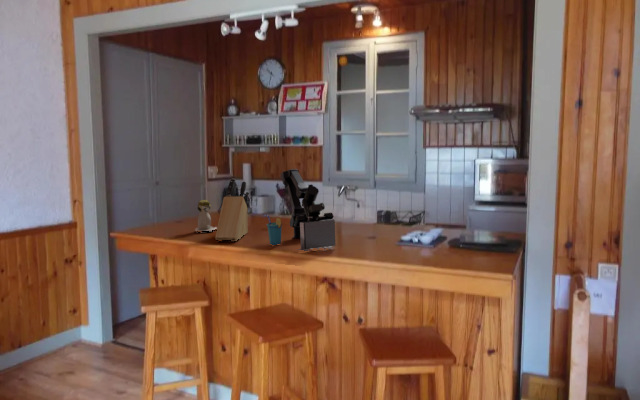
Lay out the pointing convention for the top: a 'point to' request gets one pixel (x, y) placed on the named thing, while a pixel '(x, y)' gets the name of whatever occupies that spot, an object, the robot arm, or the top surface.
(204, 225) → the white figurine
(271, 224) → the cup
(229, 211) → the knife block
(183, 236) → the top surface
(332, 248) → the label plate
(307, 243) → the dark grey flat panel
